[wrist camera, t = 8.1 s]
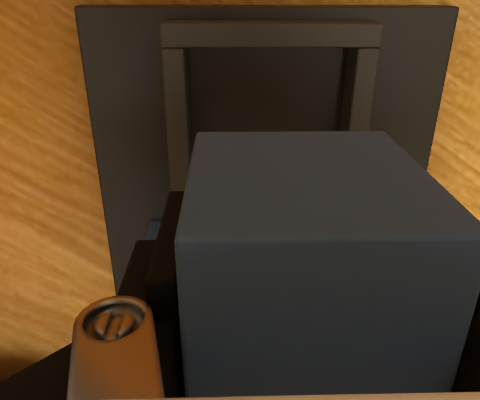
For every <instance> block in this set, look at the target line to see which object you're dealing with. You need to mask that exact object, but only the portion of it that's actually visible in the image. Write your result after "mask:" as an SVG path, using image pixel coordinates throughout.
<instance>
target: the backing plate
mask: <svg viewBox="0 0 480 400" xmlns="http://www.w3.org/2000/svg"><path fill="white" fill-rule="evenodd" d="M458 11H459V7H457V6H442V5H77V6H75V15H76V22H77V29H78V36H79V43H80V50H81V57H82V63H83V70H84V77H85V84H86V91H87V98H88V105H89V112H90V118H91V125H92V132H93V139H94V146H95V153H96V160H97V167H98V173H99V180H100V187H101V194H102V201H103V208H104V215H105V222H106V228H107V235H108V242H109V249H110V256H111V263H112V270H113V277H114V283H115V290H116V296H117V294H118V291H119V288H120V285H121V283H122V280H123V277H124V274H125V271H126V268H127V266H128V263H129V260H130V257H131V254H132V251H133V248H134V246H135V243H136V241H137V240H156V239H157V235H158V231H159V228H160V224H161V221H162V217H163V213H164V210H165V206H166V202H167V199H168V195H169V192H170V191H185V186H186V181H187V176H188V171H189V167H190V162H191V157H192V152H193V147H194V142H195V137H196V134H197V133H198V132H299V131H383V132H386V133H387V134H388V135H389V136H390V137H391V138H392V139H393V140H394V141H395V142H396V143H397V144H398V145H399V146H400V147H401V148H402V149H404V150H405V151H406V152H407V153H408V154H409V155H410V156H411V157H412V158H413V159H414V160H415V161H416V162H417V163H418V164H419V165H420V166H421V167H423V168H424V169H425V170H426V171H427V166H428V161H429V156H430V151H431V146H432V141H433V136H434V131H435V126H436V121H437V116H438V111H439V106H440V101H441V96H442V91H443V86H444V81H445V76H446V71H447V66H448V61H449V56H450V51H451V46H452V41H453V36H454V31H455V26H456V21H457V16H458Z"/></svg>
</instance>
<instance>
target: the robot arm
mask: <svg viewBox="0 0 480 400" xmlns="http://www.w3.org/2000/svg"><path fill="white" fill-rule="evenodd" d="M183 196H184V191H170V192H169V195H168V199H167V202H166V206H165V210H164V213H163V217H162V221H161V224H160V228H159V231H158V235H157V239H156V240H137V241H136V243H135V246H134V248H133V251H132V254H131V257H130V260H129V263H128V266H127V268H126V271H125V274H124V277H123V280H122V283H121V285H120V288H119V291H118V294H117V296H112V297H108V298H103V299H100V300H98V301H96V302H94V303H92V304H90V305H89V306H87V307H86V308H85V309H83V310H82V311H81V312H80V314H79V315H78V316H77V317H76V319H75V323H74V326H73V336H72V343H71V344H69V345H67V346H65V347H64V348H62V349H60V350H58V351H56V352H55V353H53V354H51V355H49V356H47V357H46V358H44V359H42V360H40V361H38V362H37V363H35V364H33V365H31V366H29V367H28V368H26V369H24V370H22V371H20V372H19V373H17V374H15V375H13V376H11V377H10V378H8V379H6V380H4V381H2V382H1V383H0V400H480V292H479V295H478V299H477V303H476V306H475V310H474V313H473V317H472V320H471V324H470V327H469V331H468V334H467V338H466V341H465V345H464V348H463V352H462V355H461V359H460V362H459V366H458V369H457V373H456V376H455V380H454V383H453V387H452V390H451V392H445V393H393V394H338V395H283V396H234V397H193V398H185V390H184V376H183V362H182V347H181V333H180V318H179V304H178V290H177V275H176V261H175V246H174V240H175V235H176V230H177V225H178V220H179V215H180V210H181V206H182V201H183Z"/></svg>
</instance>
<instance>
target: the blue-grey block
mask: <svg viewBox="0 0 480 400" xmlns="http://www.w3.org/2000/svg"><path fill="white" fill-rule="evenodd" d="M174 246H175V261H176V275H177V290H178V304H179V318H180V333H181V347H182V362H183V376H184V390H185V398H193V397H234V396H283V395H338V394H393V393H445V392H451V390H452V387H453V383H454V380H455V376H456V373H457V369H458V366H459V362H460V359H461V355H462V352H463V348H464V345H465V341H466V338H467V334H468V331H469V327H470V324H471V320H472V317H473V313H474V310H475V306H476V303H477V299H478V295H479V292H480V221H479V220H478V219H477V218H475V217H474V216H473V215H472V214H471V213H470V212H469V211H468V210H467V209H466V208H465V207H464V206H463V205H462V204H461V203H460V202H459V201H457V200H456V199H455V198H454V197H453V196H452V195H451V194H450V193H449V192H448V191H447V190H446V189H445V188H444V187H443V186H442V185H441V184H439V183H438V182H437V181H436V180H435V179H434V178H433V177H432V176H431V175H430V174H429V173H428V172H427V171H426V170H425V169H424V168H423V167H421V166H420V165H419V164H418V163H417V162H416V161H415V160H414V159H413V158H412V157H411V156H410V155H409V154H408V153H407V152H406V151H405V150H404V149H402V148H401V147H400V146H399V145H398V144H397V143H396V142H395V141H394V140H393V139H392V138H391V137H390V136H389V135H388V134H387V133H386V132H383V131H299V132H198V133H197V134H196V137H195V142H194V147H193V152H192V157H191V162H190V167H189V171H188V176H187V181H186V186H185V191H184V196H183V201H182V206H181V210H180V215H179V220H178V225H177V230H176V235H175V240H174Z"/></svg>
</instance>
